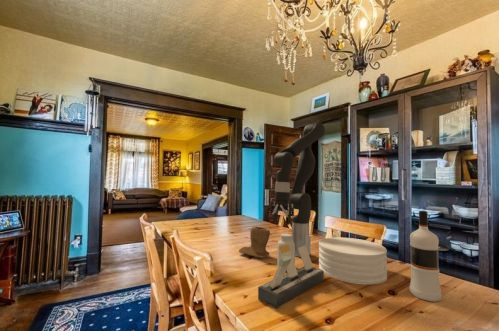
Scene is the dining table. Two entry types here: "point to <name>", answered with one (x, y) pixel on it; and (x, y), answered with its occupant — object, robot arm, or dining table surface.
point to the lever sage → (280, 271)
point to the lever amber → (291, 267)
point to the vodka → (424, 262)
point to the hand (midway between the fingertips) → (281, 223)
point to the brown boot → (257, 242)
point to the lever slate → (304, 255)
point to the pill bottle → (285, 240)
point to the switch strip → (290, 287)
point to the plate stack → (353, 260)
